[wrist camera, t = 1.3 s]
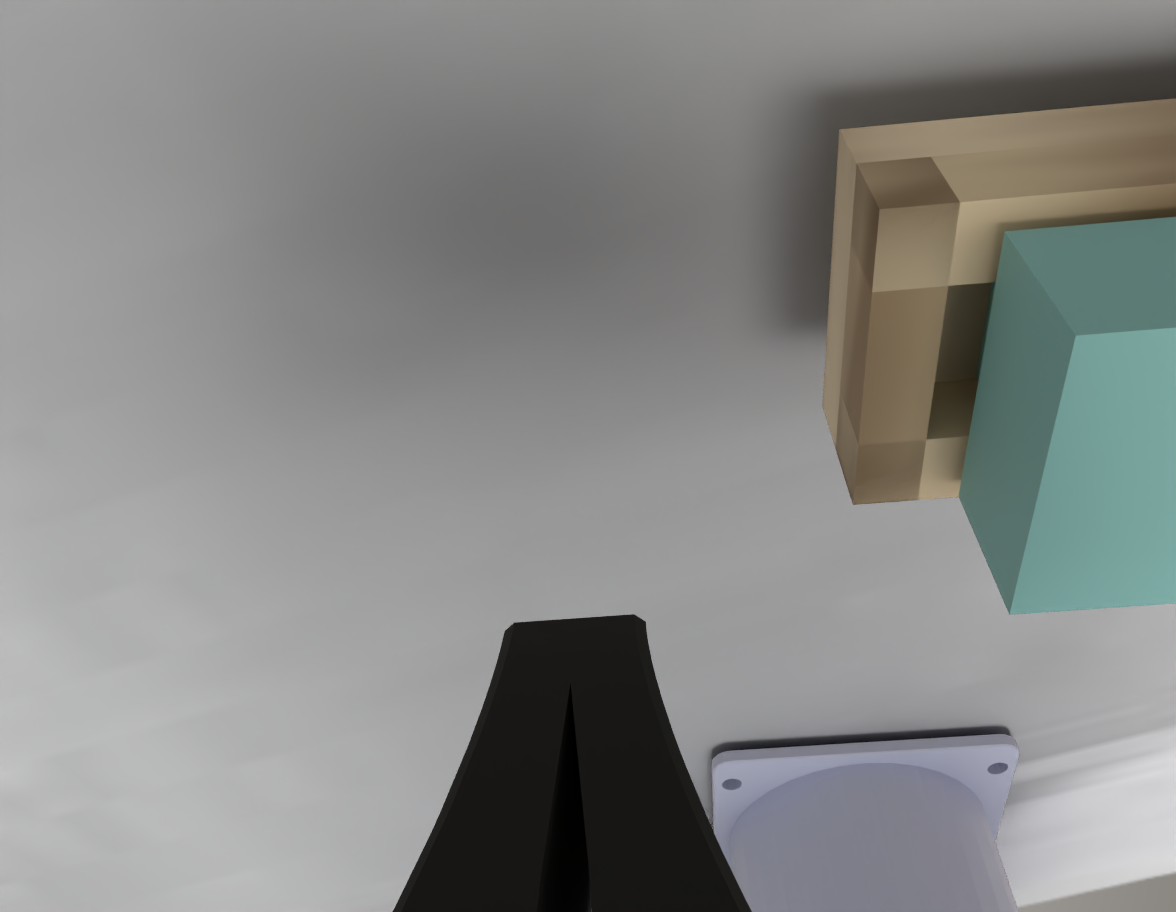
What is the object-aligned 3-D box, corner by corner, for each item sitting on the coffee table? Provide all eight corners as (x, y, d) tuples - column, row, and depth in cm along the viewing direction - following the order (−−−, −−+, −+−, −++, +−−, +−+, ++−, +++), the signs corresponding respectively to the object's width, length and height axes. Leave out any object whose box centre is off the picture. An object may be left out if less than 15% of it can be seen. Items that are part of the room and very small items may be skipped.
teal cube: (1276, 156, 14) (1465, 304, 11) (1188, 419, 17) (1318, 593, 14) (971, 183, 14) (1075, 336, 11) (934, 438, 17) (1009, 614, 14)
